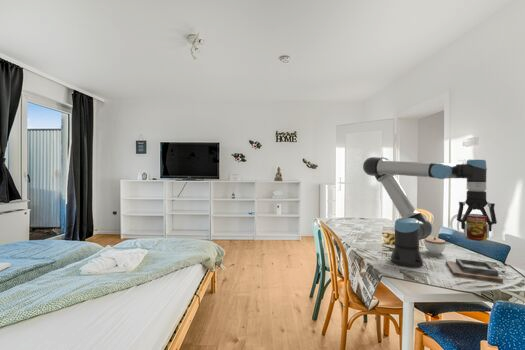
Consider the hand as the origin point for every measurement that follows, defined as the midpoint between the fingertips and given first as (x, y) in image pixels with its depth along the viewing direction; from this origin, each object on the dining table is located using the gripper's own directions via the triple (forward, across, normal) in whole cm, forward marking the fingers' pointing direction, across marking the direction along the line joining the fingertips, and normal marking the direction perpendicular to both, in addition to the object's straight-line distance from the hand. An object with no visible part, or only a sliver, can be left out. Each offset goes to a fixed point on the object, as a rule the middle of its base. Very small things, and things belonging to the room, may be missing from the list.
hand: (475, 236), depth 129 cm
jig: (+17, -2, -1) cm, 17 cm away
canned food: (+1, 0, 0) cm, 1 cm away
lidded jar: (+17, -14, +27) cm, 35 cm away
